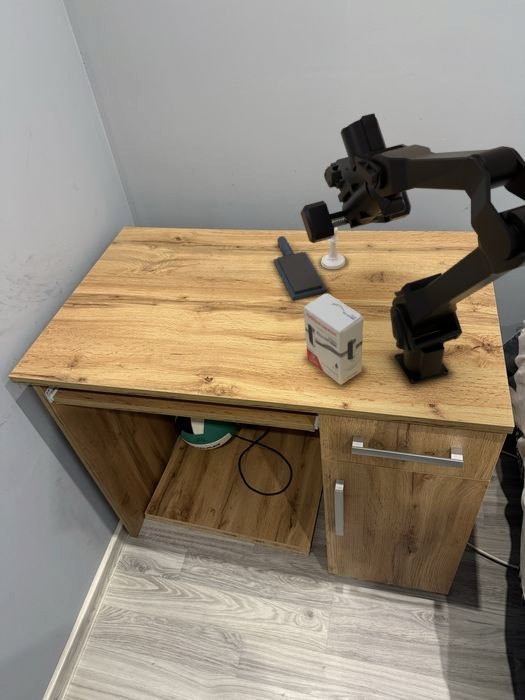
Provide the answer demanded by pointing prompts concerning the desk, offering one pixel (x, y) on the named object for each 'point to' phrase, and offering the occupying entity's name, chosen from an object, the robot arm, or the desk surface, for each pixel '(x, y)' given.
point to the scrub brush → (298, 272)
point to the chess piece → (333, 255)
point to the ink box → (334, 337)
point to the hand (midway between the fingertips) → (341, 226)
